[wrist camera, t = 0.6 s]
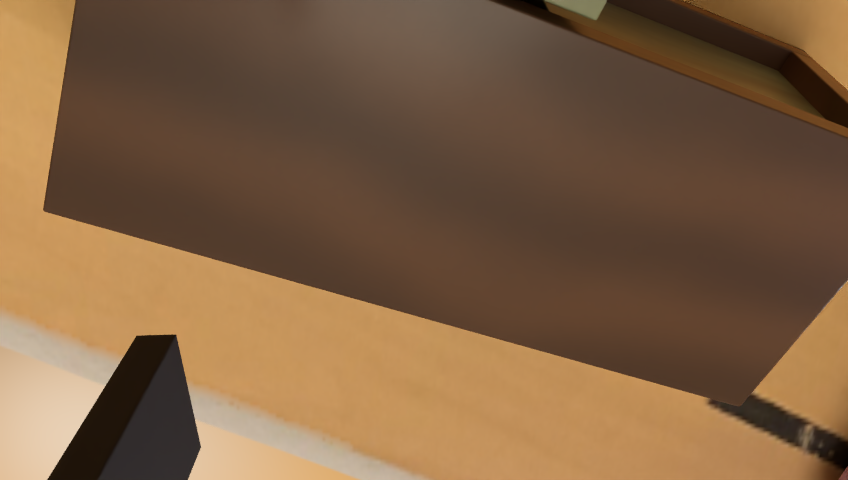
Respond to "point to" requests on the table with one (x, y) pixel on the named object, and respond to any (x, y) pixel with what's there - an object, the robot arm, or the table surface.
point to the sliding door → (581, 7)
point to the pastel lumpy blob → (844, 475)
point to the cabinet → (479, 166)
